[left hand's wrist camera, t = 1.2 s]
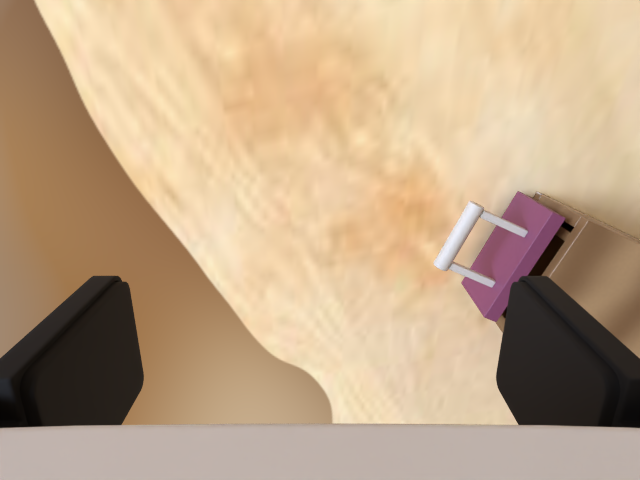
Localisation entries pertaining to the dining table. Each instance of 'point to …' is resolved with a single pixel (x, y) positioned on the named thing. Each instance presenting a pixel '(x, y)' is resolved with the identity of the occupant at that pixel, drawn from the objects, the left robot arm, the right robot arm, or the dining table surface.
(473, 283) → the drawer
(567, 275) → the tan storage bin
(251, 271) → the dining table surface
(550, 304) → the left robot arm
